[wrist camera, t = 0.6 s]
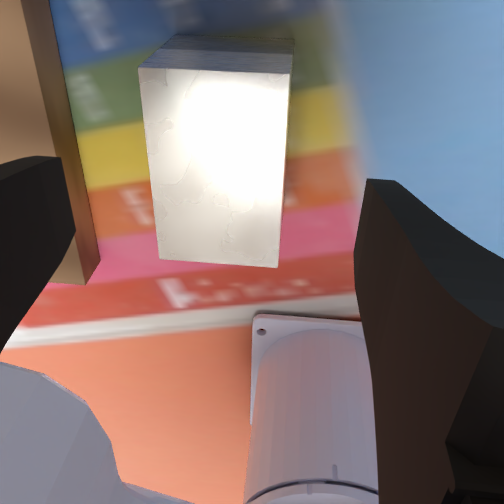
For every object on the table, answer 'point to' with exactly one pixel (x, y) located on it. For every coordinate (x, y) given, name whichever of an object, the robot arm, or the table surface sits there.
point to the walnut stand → (43, 119)
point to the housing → (218, 146)
